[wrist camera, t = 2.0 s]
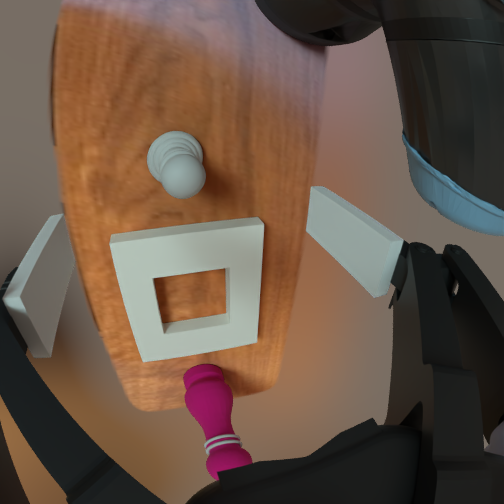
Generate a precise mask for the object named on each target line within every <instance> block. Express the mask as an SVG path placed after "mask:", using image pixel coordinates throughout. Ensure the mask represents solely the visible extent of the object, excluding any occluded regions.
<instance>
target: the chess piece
mask: <svg viewBox="0 0 504 504" xmlns="http://www.w3.org/2000/svg"><path fill="white" fill-rule="evenodd" d="M202 160H203V153H202V149H201V146H200V144H199V142H198V141H197V140H196V139H195V138H194V137H193V136H191V135H190V134H188V133H185V132H181V131H172V132H168V133H165V134H163V135H161V136H160V137H158V138H157V139H156V140H155V141H154V142H153V143H152V145H151V147H150V149H149V151H148V155H147V164H148V168H149V170H150V172H151V174H152V175H153V177H154V178H155V179H157V180H158V181H160V182H161V183H162V185H163V187H164V189H165V190H166V191H167V192H168V193H169V194H170V195H171V196H173V197H175V198H179V199H186V198H190V197H192V196H194V195H195V194H197V193H198V192H199V191H200V190H201V189H202V187H203V185H204V183H205V180H206V173H205V169H204V167H203V165H202Z"/></svg>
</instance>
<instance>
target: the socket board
mask: <svg viewBox="0 0 504 504" xmlns="http://www.w3.org/2000/svg"><path fill="white" fill-rule="evenodd" d="M263 237H264V223H263V222H262V221H261V220H260V219H259V217H252V218H242V219H232V220H223V221H214V222H205V223H196V224H188V225H180V226H172V227H164V228H156V229H148V230H141V231H133V232H126V233H119V234H112V235H111V239H110V248H111V252H112V257H113V261H114V266H115V270H116V274H117V278H118V282H119V286H120V290H121V293H122V297H123V301H124V304H125V308H126V311H127V315H128V318H129V321H130V325H131V328H132V331H133V334H134V337H135V340H136V343H137V346H138V349H139V352H140V355H141V358H142V361H143V362H149V361H156V360H163V359H170V358H177V357H183V356H189V355H195V354H201V353H207V352H212V351H217V350H223V349H228V348H233V347H238V346H243V345H248V344H252V343H257V334H258V318H259V303H260V287H261V271H262V254H263ZM222 268H225V270H226V313H225V314H220V315H214V316H208V317H202V318H196V319H189V320H183V321H176V322H170V323H162V319H161V314H160V309H159V305H158V300H157V294H156V289H155V284H154V278H158V277H166V276H173V275H180V274H187V273H194V272H201V271H208V270H215V269H222Z"/></svg>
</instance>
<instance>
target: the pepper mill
mask: <svg viewBox="0 0 504 504" xmlns="http://www.w3.org/2000/svg"><path fill="white" fill-rule="evenodd" d="M183 380H184V384H185V388H186V390H187V391H186V393H185V403H186V406H187V408H188V410H189V411H190V413H191V414H192V416H193V417H195V419H196V420H197V421H198V423H199V424H200V425H201V427H202V428H203V430H204V433H205V436H206V442H205V444H204V447H205V448H206V453H207V454H208V455H209V457H208V459H207V461H206V467H207V470H208V472H209V474H210V475H211V476H212V477H213V478H214V479H216V480H219V479H218V475H217V472H218V471H223V470H228V469H232V468H236V467H240V466H244V465H248V464H252V458H251V456H250V454H249V453H248V452H247V451H246V450H244V449H243V448H241V447H242V442H240V437H239V436H238V435H235V433H234V431H233V428H232V425H231V411H232V406H233V395H232V391H231V389H230V387H229V386H228V385H227V384H226V383H225V382H224V377H223V374H222V371H221V370H220V368H218V367H217V366H215V365H211V364H202V365H197V366H195V367H192V368H190V369H189V370H188V371H187V372H186V373H185V374H184V377H183Z"/></svg>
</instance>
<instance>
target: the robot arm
mask: <svg viewBox="0 0 504 504" xmlns="http://www.w3.org/2000/svg"><path fill="white" fill-rule="evenodd" d="M255 2H256V3H257V5H258V7H259V8H260V9H261V11H262V12H263V13H264V14H265V16H266V17H267V18H268V19H269V20H270V21H271V22H272V23H274V24H275V25H276V26H277V27H278V28H280V29H281V30H283V31H284V32H286V33H287V34H289V35H291V36H292V37H294V38H297V39H299V40H301V41H304V42H307V43H310V44H315V45H321V46H335V45H343V44H349V43H353V42H356V41H359V40H361V39H363V38H365V37H367V36H368V35H370V34H371V33H373V32H374V31H376V30H377V29H378V28H380V27H381V26H382V27H383V30H384V34H385V37H386V42H387V46H388V50H389V54H390V58H391V63H392V67H393V71H394V76H395V81H396V86H397V92H398V97H399V103H400V109H401V115H402V122H403V132H402V133H403V135H402V139H403V142H404V145H405V146H406V150H407V157H408V164H409V172H410V176H411V179H412V182H413V185H414V187H415V188H416V190H417V192H418V193H419V194H420V196H421V197H422V198H423V199H424V200H425V201H426V202H427V203H428V204H429V205H430V206H431V207H433V208H435V209H437V210H438V212H439V213H440V214H441V215H443V216H444V217H446V218H447V219H449V220H451V221H452V222H454V223H456V224H458V225H460V226H463V227H465V228H467V229H470V230H473V231H476V232H479V233H484V234H488V235H494V236H504V0H255ZM306 232H308V233H309V234H310V235H311V236H312V237H313V238H314V239H315V240H316V241H317V242H318V243H319V244H320V245H321V246H322V247H323V248H324V249H326V251H328V253H330V254H331V255H332V256H333V257H334V258H335V259H336V260H337V261H338V262H339V263H340V264H341V265H342V266H343V267H344V268H345V269H346V270H347V271H348V272H349V273H350V274H351V275H352V276H353V277H354V278H355V279H356V280H357V281H358V282H359V283H360V284H361V285H362V286H363V287H364V288H365V289H366V290H367V291H368V292H369V293H370V294H371V295H372V296H373V297H374V298H376V297H380V296H383V295H386V294H387V292H388V289H389V286H390V283H392V284H393V285H394V286H395V287H396V288H395V291H394V294H393V296H392V299H391V302H390V304H389V308H391V306H392V305H393V351H392V370H391V382H390V394H389V404H388V412H387V417H386V420H385V423H384V425H377V423H376V422H375V420H374V419H373V418H371V419H369V420H367V421H365V422H363V423H361V424H358V425H356V426H354V427H352V428H350V429H348V430H345V431H343V432H341V433H339V434H338V435H337V436H335V437H334V438H333V439H331V440H330V441H329V442H327V443H326V444H325V445H323V446H322V447H321V448H319V449H318V450H316V451H315V452H313V453H312V454H311V455H309V456H307V457H302V458H294V459H284V460H272V461H259V462H255V463H252V464H248V465H244V466H240V467H236V468H232V469H228V470H223V471H218V472H217V475H218V479H219V480H217V481H215V482H213V483H211V484H209V485H207V486H206V487H204V488H203V489H201V490H200V491H198V492H197V493H196V494H195V495H193V496H192V497H191V498H190V499H189V500H188V501H187V503H186V504H504V301H503V300H502V298H501V297H500V296H499V294H498V293H497V291H496V290H495V288H494V287H493V286H492V284H491V283H490V281H489V280H488V279H487V277H486V276H485V275H484V273H483V272H482V271H481V270H480V268H479V267H478V266H477V264H476V263H475V262H474V261H473V259H472V258H471V257H470V256H469V254H468V253H467V252H466V251H465V250H463V249H462V248H461V247H460V246H457V245H452V244H447V245H445V248H444V251H443V254H436V253H435V251H434V250H433V249H432V248H431V247H429V246H428V245H426V244H423V243H418V242H412V243H410V244H409V243H407V242H406V241H405V240H403V239H402V238H401V237H399V236H397V235H396V234H395V233H393V232H392V231H391V230H389V229H388V228H386V227H385V226H383V225H382V224H381V223H379V222H377V221H376V220H375V219H373V218H372V217H370V216H369V215H367V214H366V213H364V212H363V211H361V210H360V209H358V208H357V207H355V206H354V205H352V204H350V203H349V202H347V201H346V200H344V199H343V198H341V197H339V196H338V195H336V194H335V193H333V192H332V191H330V190H328V189H327V188H325V187H323V186H313V187H311V193H310V202H309V211H308V219H307V227H306ZM75 262H76V261H75V258H74V254H73V251H72V247H71V243H70V239H69V235H68V231H67V227H66V223H65V218H64V214H59V215H54V216H50V217H49V219H48V220H47V222H46V223H45V225H44V227H43V228H42V229H41V231H40V232H39V234H38V236H37V237H36V239H35V241H34V242H33V244H32V245H31V247H30V249H29V250H28V252H27V254H26V255H25V257H24V259H23V260H22V262H21V264H20V266H19V267H16V268H14V269H13V270H12V271H11V272H10V274H8V276H7V278H6V280H5V282H4V284H3V285H2V287H1V290H0V395H1V397H2V399H3V401H4V403H5V405H6V407H7V409H8V410H9V412H10V414H11V416H12V418H13V419H14V421H15V423H16V424H17V426H18V428H19V429H20V431H21V433H22V434H23V436H24V437H25V439H26V441H27V442H28V444H29V445H30V447H31V448H32V450H33V451H34V452H35V454H36V455H37V457H38V458H39V460H40V461H41V462H42V464H43V465H44V467H45V468H46V469H47V471H48V472H49V473H50V474H51V476H52V477H53V478H54V480H55V481H56V482H57V483H58V484H59V486H60V487H61V488H62V489H63V491H64V492H65V493H66V495H67V498H66V500H67V502H68V504H166V503H165V502H164V501H162V500H161V499H160V498H158V497H157V496H156V495H154V494H153V493H151V492H150V491H149V490H148V489H147V488H145V487H144V486H143V485H141V484H140V483H139V482H138V481H137V480H135V479H134V478H133V477H132V476H131V475H130V474H128V473H127V472H126V471H125V470H124V469H123V468H122V467H120V466H119V465H118V464H117V463H116V462H115V461H114V460H113V459H112V458H110V457H109V456H108V455H107V454H106V453H105V452H104V451H103V450H102V449H101V448H100V447H99V446H98V445H97V444H96V443H95V442H94V441H93V440H92V439H91V438H90V437H89V436H88V434H87V433H86V432H85V431H84V430H83V429H82V428H81V427H80V426H79V425H78V423H77V422H76V421H75V420H74V419H73V418H72V417H71V416H70V414H69V413H68V412H67V411H66V409H65V408H64V407H63V406H62V405H61V403H60V402H59V401H58V400H57V398H56V397H55V396H54V394H53V393H52V392H51V391H50V389H49V388H48V387H47V385H46V384H45V383H44V381H43V380H42V379H41V377H40V376H39V374H38V373H37V371H36V370H35V368H34V367H33V365H32V364H31V362H30V361H29V359H28V358H27V356H26V351H27V348H28V349H29V350H30V352H31V353H32V355H33V357H34V358H45V357H51V354H52V349H53V344H54V339H55V334H56V330H57V326H58V321H59V317H60V313H61V309H62V306H63V302H64V298H65V295H66V291H67V288H68V284H69V281H70V278H71V275H72V271H73V268H74V265H75ZM457 284H458V285H459V287H458V292H457V294H456V295H455V293H454V291H455V288H456V286H457ZM483 434H484V436H485V439H486V440H487V442H488V444H489V445H488V446H487V447H486V448H485V449H484V441H483V440H484V439H483ZM0 504H30V503H29V501H28V498H27V496H26V494H25V492H24V490H23V487H22V485H21V483H20V480H19V477H18V475H17V472H16V470H15V467H14V465H13V461H12V459H11V456H10V453H9V450H8V446H7V443H6V440H5V437H4V433H3V430H2V426H1V422H0Z"/></svg>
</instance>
